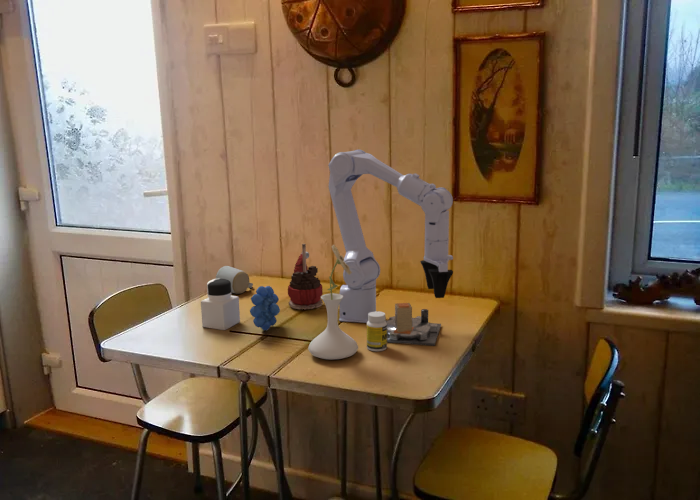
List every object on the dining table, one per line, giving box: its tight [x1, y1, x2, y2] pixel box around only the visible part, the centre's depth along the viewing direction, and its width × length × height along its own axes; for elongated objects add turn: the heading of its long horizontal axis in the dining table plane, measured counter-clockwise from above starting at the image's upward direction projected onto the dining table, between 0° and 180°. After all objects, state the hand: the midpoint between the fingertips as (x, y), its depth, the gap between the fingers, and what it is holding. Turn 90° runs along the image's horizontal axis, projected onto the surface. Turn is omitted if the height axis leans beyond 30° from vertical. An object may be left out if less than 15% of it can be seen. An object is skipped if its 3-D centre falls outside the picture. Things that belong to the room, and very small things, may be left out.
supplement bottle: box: [366, 310, 388, 352], centre depth 151 cm, size 5×5×8 cm
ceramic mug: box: [215, 265, 254, 295], centre depth 199 cm, size 11×8×8 cm
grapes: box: [249, 285, 281, 331], centre depth 163 cm, size 12×7×12 cm, turn 155°
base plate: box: [385, 319, 442, 347], centre depth 161 cm, size 15×14×1 cm
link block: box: [394, 302, 413, 332], centre depth 156 cm, size 4×4×6 cm
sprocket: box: [387, 308, 438, 340], centre depth 161 cm, size 14×15×4 cm
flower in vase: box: [307, 244, 359, 360], centre depth 147 cm, size 13×11×25 cm
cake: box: [287, 243, 324, 310], centre depth 182 cm, size 11×9×18 cm
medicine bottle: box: [200, 278, 241, 331], centre depth 169 cm, size 7×7×12 cm
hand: (435, 293), depth 160 cm, fingers open, 7 cm apart
